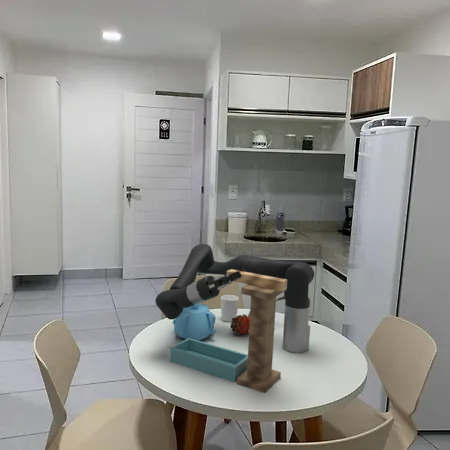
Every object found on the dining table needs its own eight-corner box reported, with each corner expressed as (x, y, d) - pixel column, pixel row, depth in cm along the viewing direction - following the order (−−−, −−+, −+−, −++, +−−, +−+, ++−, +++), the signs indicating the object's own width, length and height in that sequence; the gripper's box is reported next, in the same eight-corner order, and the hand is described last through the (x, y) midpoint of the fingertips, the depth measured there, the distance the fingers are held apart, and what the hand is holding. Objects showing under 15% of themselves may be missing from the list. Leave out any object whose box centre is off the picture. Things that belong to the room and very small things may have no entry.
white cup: (218, 321, 198) (219, 299, 197) (221, 315, 206) (222, 294, 204) (236, 323, 197) (237, 301, 195) (238, 316, 205) (239, 295, 203)
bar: (226, 279, 147) (226, 271, 147) (230, 278, 150) (231, 269, 149) (282, 291, 137) (283, 281, 137) (286, 288, 140) (287, 279, 139)
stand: (236, 384, 144) (241, 287, 139) (253, 369, 154) (258, 279, 149) (264, 393, 139) (270, 293, 134) (280, 377, 149) (286, 284, 145)
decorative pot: (217, 343, 175) (219, 309, 173) (176, 345, 172) (177, 311, 170) (209, 327, 191) (211, 296, 189) (171, 329, 187) (172, 297, 185)
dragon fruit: (233, 341, 181) (244, 335, 192) (250, 332, 178) (260, 327, 189) (223, 322, 183) (234, 317, 194) (240, 313, 180) (250, 309, 191)
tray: (170, 361, 158) (170, 348, 157) (188, 350, 167) (188, 337, 166) (234, 382, 145) (235, 367, 144) (250, 369, 154) (251, 355, 154)
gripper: (217, 295, 160) (256, 278, 151) (195, 305, 148) (236, 288, 139) (209, 275, 160) (247, 258, 152) (186, 284, 148) (227, 266, 140)
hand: (242, 272), depth 145 cm, fingers closed on bar, 3 cm apart
